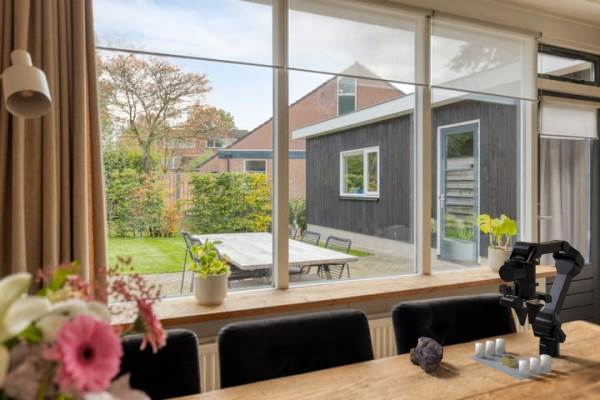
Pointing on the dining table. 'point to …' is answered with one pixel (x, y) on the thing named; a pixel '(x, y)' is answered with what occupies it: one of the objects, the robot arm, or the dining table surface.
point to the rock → (427, 354)
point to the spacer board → (524, 366)
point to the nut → (510, 360)
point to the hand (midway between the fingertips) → (526, 325)
